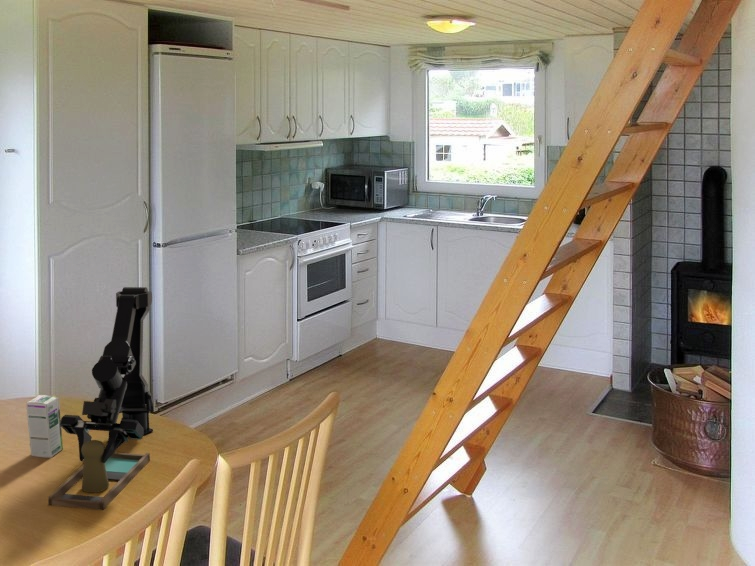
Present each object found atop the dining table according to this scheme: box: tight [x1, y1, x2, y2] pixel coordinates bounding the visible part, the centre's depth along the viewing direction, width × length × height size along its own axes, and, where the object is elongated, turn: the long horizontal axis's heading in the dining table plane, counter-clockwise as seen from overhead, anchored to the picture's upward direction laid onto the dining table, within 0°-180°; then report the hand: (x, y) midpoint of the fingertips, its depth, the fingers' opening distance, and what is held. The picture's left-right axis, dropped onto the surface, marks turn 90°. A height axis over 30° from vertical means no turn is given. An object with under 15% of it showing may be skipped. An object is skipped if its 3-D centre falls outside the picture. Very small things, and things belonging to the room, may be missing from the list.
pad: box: [105, 458, 139, 473], centre depth 221 cm, size 7×10×1 cm
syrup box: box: [25, 394, 64, 459], centre depth 227 cm, size 6×6×14 cm
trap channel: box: [47, 451, 151, 511], centre depth 213 cm, size 26×13×2 cm, turn 171°
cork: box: [81, 439, 110, 493], centre depth 208 cm, size 6×6×11 cm
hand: (92, 461), depth 207 cm, fingers closed on cork, 5 cm apart
